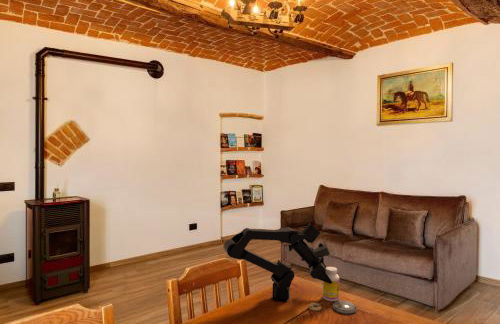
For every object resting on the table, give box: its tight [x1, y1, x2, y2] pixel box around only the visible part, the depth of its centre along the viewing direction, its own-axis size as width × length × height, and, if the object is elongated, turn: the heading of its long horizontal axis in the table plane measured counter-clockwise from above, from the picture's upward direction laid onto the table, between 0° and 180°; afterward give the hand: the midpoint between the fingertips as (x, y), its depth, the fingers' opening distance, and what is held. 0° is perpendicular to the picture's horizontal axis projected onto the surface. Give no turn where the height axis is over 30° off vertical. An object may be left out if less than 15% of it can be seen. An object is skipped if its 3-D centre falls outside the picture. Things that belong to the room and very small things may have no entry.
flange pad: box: [332, 300, 357, 315], centre depth 139 cm, size 9×9×1 cm
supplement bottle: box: [322, 266, 340, 302], centre depth 148 cm, size 7×7×13 cm
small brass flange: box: [308, 302, 323, 312], centre depth 139 cm, size 5×5×1 cm
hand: (330, 278), depth 148 cm, fingers open, 9 cm apart
